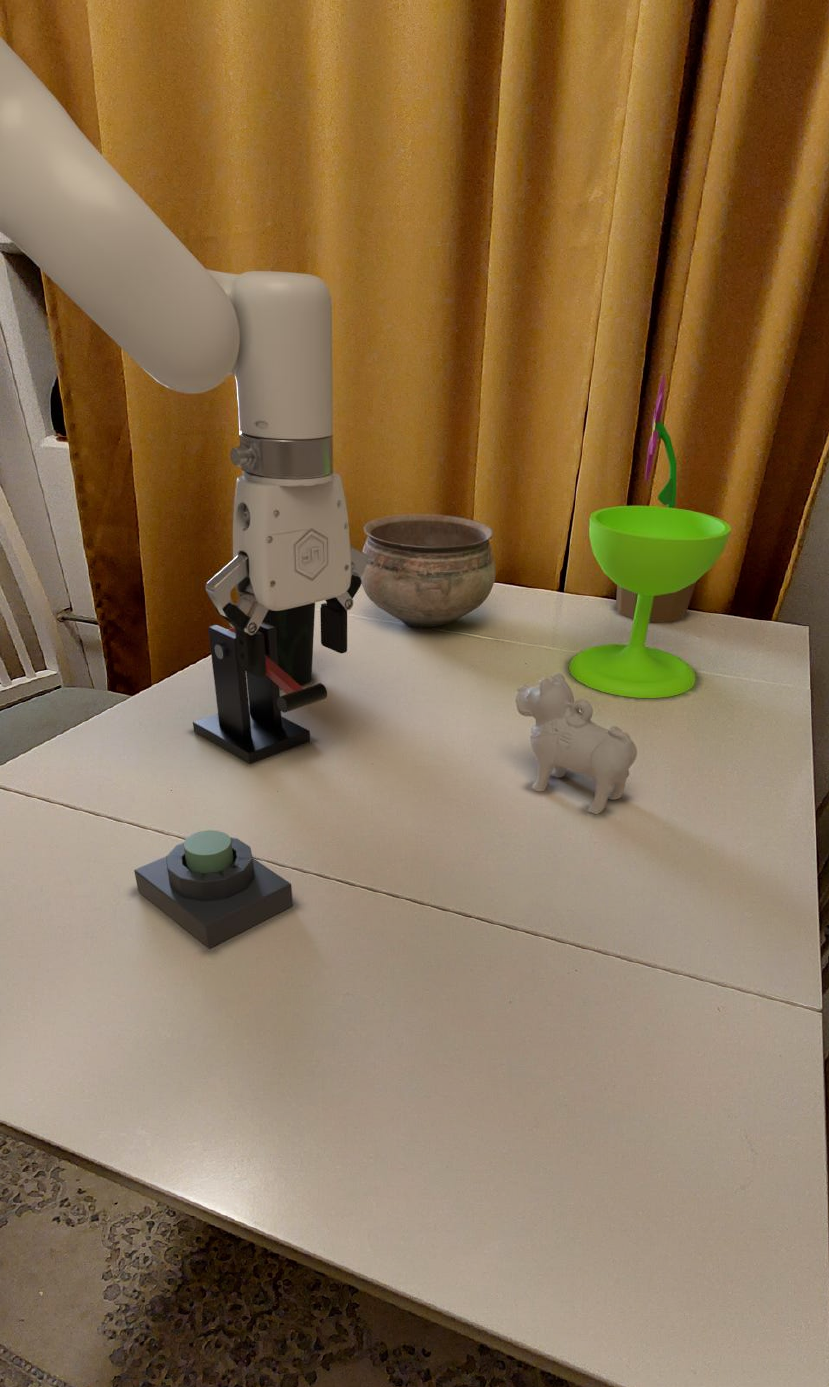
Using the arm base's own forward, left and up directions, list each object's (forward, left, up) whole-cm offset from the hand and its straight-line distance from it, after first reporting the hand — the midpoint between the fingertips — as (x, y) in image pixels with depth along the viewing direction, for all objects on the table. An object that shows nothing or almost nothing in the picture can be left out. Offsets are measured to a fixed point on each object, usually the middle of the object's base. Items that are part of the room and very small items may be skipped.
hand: (294, 660), depth 82 cm
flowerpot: (-4, +70, -11) cm, 71 cm away
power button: (+13, -20, -7) cm, 25 cm away
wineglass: (+8, +47, -11) cm, 49 cm away
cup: (-19, +13, -11) cm, 26 cm away
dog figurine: (+21, +16, -11) cm, 29 cm away
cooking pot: (-23, +41, -11) cm, 48 cm away
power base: (+13, -20, -11) cm, 26 cm away
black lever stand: (-9, 0, -11) cm, 14 cm away
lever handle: (-5, 0, -3) cm, 6 cm away
